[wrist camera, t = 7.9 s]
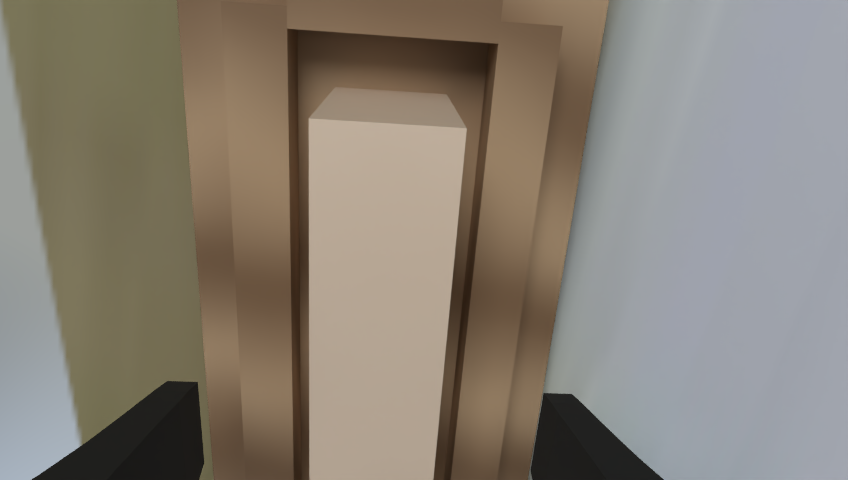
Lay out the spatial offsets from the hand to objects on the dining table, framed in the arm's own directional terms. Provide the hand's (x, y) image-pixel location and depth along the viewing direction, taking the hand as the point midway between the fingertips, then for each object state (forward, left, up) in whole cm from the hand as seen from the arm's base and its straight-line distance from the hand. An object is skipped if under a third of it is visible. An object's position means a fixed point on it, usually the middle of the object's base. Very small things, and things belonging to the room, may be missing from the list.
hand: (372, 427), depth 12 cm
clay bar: (0, 0, -6) cm, 6 cm away
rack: (0, 0, -7) cm, 7 cm away
